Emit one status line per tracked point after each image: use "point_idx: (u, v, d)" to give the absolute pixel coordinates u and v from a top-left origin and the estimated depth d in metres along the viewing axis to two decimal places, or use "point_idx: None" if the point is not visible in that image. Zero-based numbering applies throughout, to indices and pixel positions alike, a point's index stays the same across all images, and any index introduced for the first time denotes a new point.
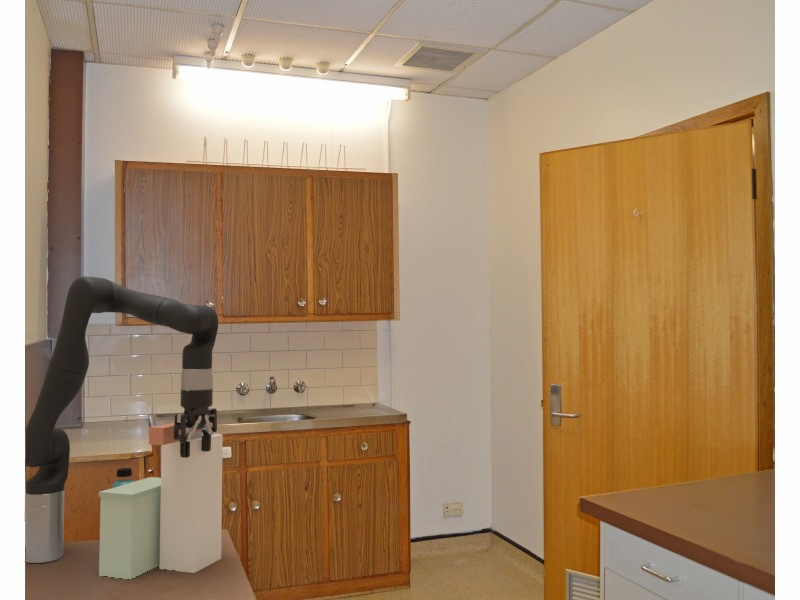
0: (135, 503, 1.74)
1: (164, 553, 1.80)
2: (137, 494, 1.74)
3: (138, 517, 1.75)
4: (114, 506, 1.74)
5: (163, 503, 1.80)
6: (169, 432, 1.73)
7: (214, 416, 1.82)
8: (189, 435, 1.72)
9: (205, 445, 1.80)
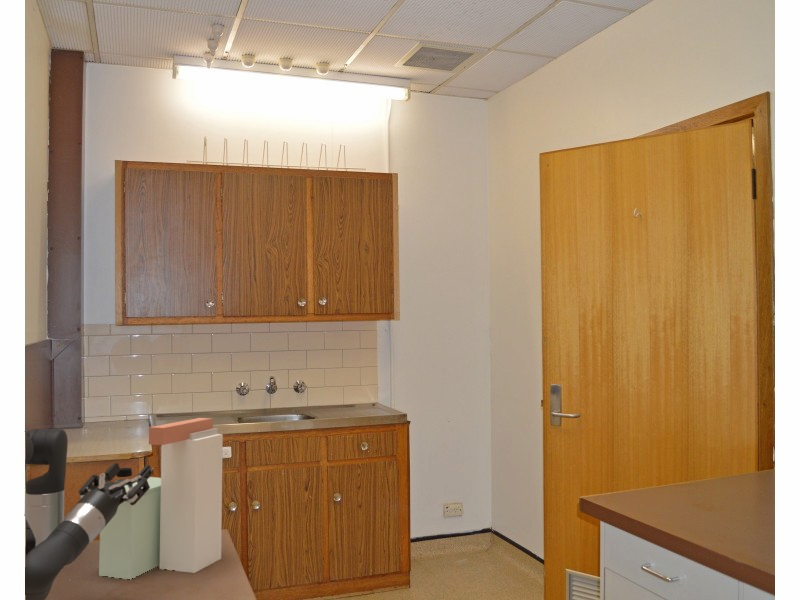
0: None
1: (164, 553, 1.80)
2: None
3: (138, 517, 1.75)
4: None
5: (163, 503, 1.80)
6: (169, 432, 1.73)
7: None
8: None
9: None
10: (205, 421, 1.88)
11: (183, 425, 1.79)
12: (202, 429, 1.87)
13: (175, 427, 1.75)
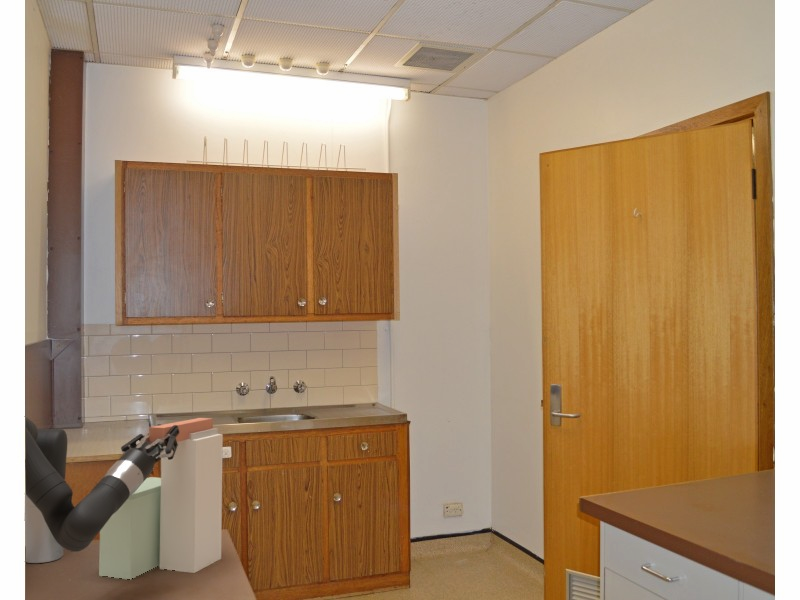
0: (135, 503, 1.74)
1: (164, 553, 1.80)
2: (137, 494, 1.74)
3: (138, 517, 1.75)
4: None
5: (163, 503, 1.80)
6: None
7: None
8: None
9: None
10: (205, 421, 1.88)
11: (183, 425, 1.79)
12: (203, 429, 1.87)
13: None
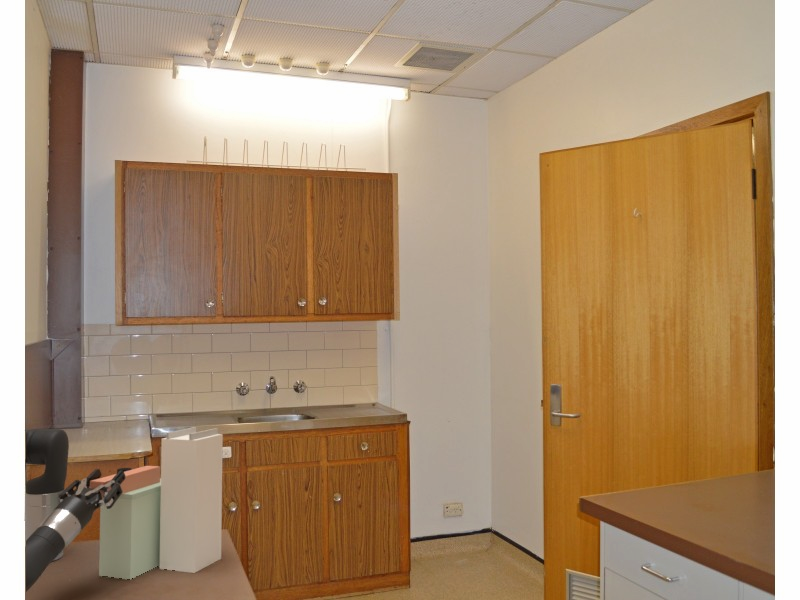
0: (135, 503, 1.74)
1: (164, 553, 1.80)
2: (137, 494, 1.74)
3: (138, 517, 1.75)
4: (114, 506, 1.74)
5: (163, 503, 1.80)
6: None
7: None
8: None
9: None
10: (151, 470, 1.84)
11: (127, 477, 1.75)
12: (148, 478, 1.83)
13: None
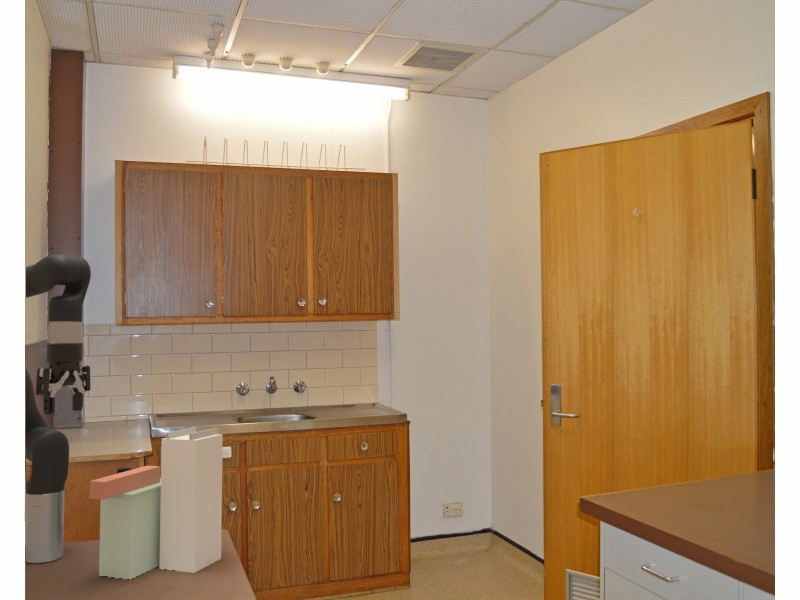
0: (135, 503, 1.74)
1: (164, 553, 1.80)
2: (137, 494, 1.74)
3: (138, 517, 1.75)
4: (114, 506, 1.74)
5: (163, 503, 1.80)
6: (111, 485, 1.70)
7: (87, 374, 1.72)
8: (54, 391, 1.63)
9: (76, 404, 1.70)
10: (151, 470, 1.84)
11: (127, 477, 1.75)
12: (148, 478, 1.83)
13: (117, 479, 1.72)
